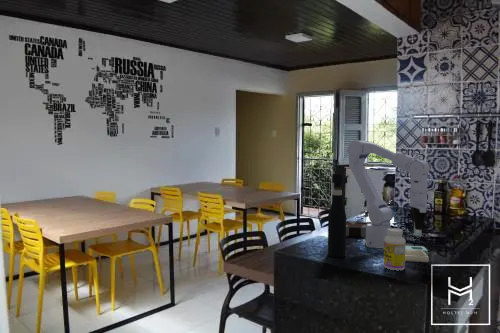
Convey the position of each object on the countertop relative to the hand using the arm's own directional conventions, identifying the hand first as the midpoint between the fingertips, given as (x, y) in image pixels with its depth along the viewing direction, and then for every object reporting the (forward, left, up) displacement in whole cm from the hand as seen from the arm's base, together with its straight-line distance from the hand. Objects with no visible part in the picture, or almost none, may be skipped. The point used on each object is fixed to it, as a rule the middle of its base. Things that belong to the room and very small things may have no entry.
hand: (417, 228), depth 147 cm
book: (-17, +29, -10) cm, 36 cm away
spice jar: (0, 0, -2) cm, 3 cm away
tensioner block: (-1, 0, -9) cm, 9 cm away
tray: (-3, -8, -9) cm, 13 cm away
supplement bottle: (-12, -21, -9) cm, 26 cm away
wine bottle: (-30, -9, -9) cm, 33 cm away
